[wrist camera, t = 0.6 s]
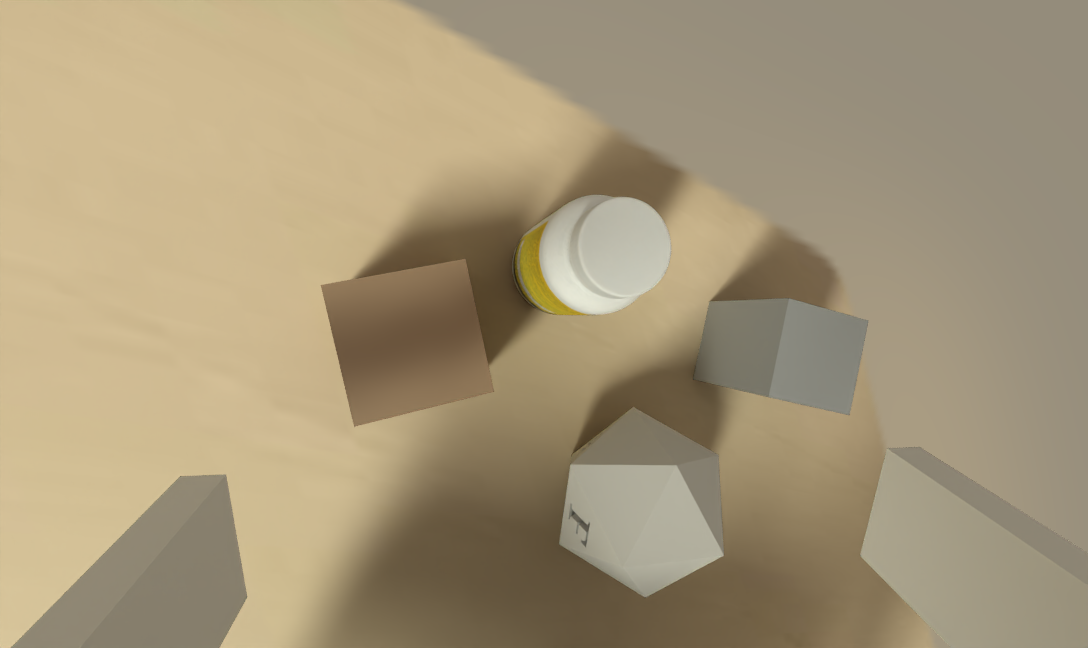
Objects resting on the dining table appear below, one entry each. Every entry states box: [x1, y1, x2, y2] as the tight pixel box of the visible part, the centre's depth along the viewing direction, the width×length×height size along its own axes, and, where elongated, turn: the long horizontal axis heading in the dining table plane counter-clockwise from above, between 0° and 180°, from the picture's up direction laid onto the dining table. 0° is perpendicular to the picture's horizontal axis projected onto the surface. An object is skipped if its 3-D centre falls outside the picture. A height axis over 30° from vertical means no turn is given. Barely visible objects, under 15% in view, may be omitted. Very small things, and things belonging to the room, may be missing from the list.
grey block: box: [693, 298, 868, 415], centre depth 29 cm, size 5×5×7 cm
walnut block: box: [321, 259, 494, 426], centre depth 24 cm, size 6×6×6 cm
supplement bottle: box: [512, 195, 671, 315], centre depth 25 cm, size 5×5×10 cm
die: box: [559, 407, 724, 598], centre depth 27 cm, size 8×9×10 cm
